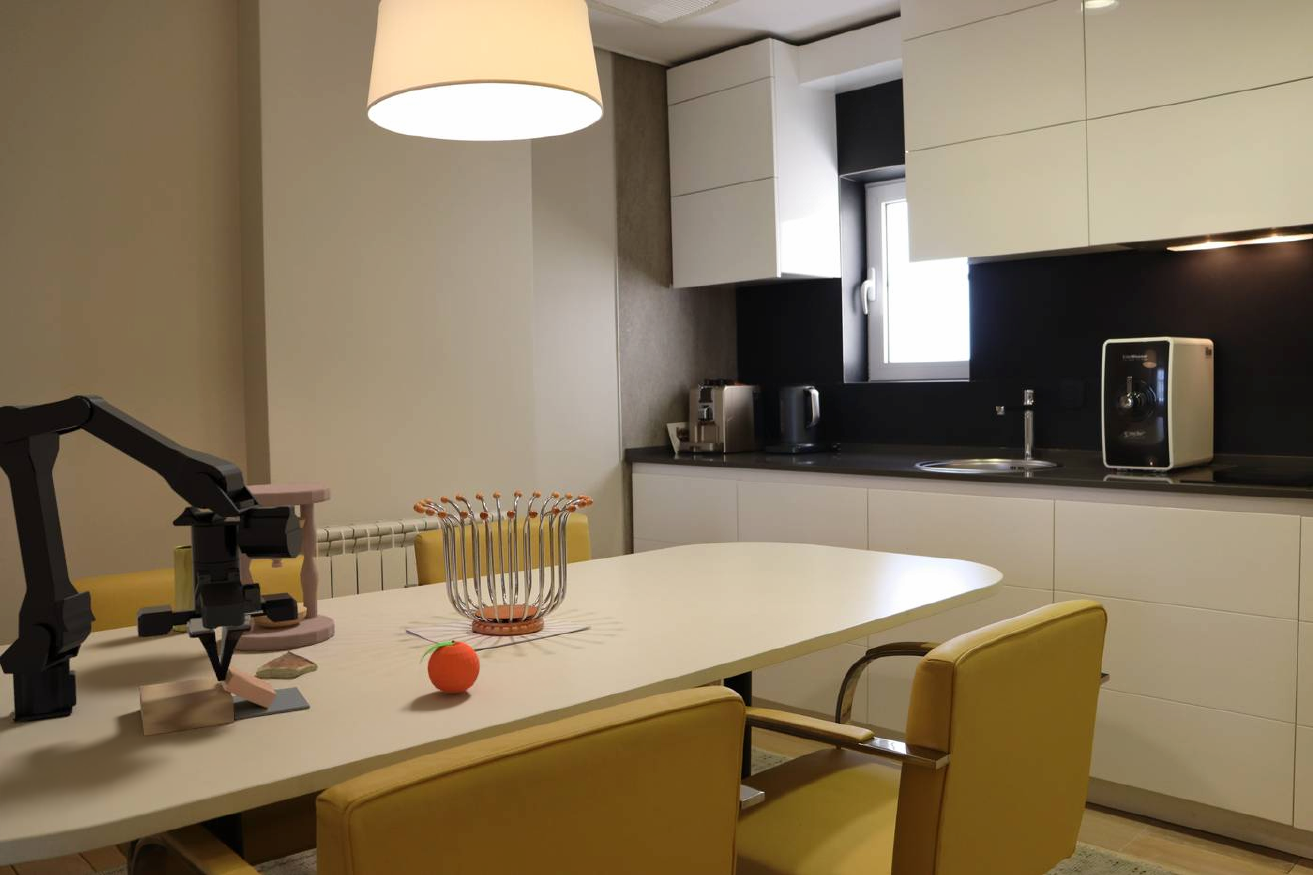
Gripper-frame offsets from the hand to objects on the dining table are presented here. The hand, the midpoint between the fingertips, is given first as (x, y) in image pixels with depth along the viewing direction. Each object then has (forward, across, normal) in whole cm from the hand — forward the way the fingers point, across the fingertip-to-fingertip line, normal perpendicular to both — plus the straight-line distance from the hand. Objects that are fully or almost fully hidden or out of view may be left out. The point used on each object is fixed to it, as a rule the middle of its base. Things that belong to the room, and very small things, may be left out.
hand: (221, 680), depth 135 cm
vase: (+4, +1, +54) cm, 54 cm away
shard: (+5, +10, +17) cm, 20 cm away
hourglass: (+4, +13, +38) cm, 40 cm away
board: (+4, -4, 0) cm, 6 cm away
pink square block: (+2, +3, 0) cm, 3 cm away
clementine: (+4, +28, -8) cm, 29 cm away
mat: (+4, +6, 0) cm, 7 cm away
